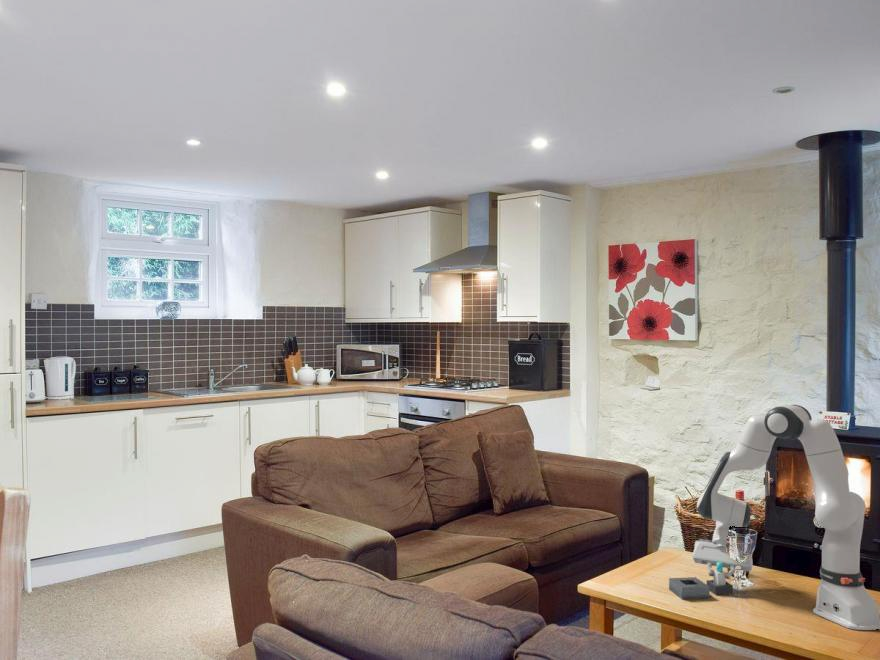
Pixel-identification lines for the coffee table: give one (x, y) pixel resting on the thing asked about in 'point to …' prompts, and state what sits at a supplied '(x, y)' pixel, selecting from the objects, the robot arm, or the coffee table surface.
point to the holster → (720, 588)
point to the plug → (719, 575)
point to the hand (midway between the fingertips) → (719, 576)
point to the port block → (689, 588)
